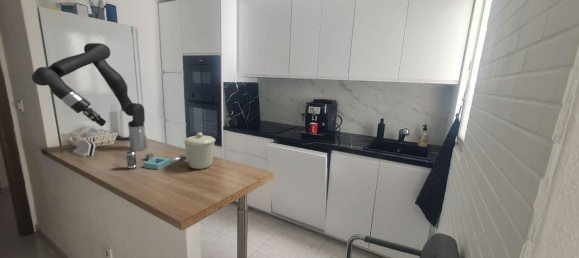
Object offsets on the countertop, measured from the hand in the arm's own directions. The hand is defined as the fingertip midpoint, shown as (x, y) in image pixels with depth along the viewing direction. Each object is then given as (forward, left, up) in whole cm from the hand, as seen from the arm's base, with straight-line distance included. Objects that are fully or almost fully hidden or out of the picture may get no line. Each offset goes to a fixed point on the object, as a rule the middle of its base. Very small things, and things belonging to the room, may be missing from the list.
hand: (104, 124), depth 131 cm
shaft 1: (-17, +12, -26) cm, 33 cm away
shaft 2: (-21, +27, -26) cm, 43 cm away
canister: (-20, +46, -26) cm, 56 cm away
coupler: (-4, +12, -26) cm, 28 cm away
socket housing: (-12, +22, -26) cm, 36 cm away
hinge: (-14, -37, -26) cm, 47 cm away
